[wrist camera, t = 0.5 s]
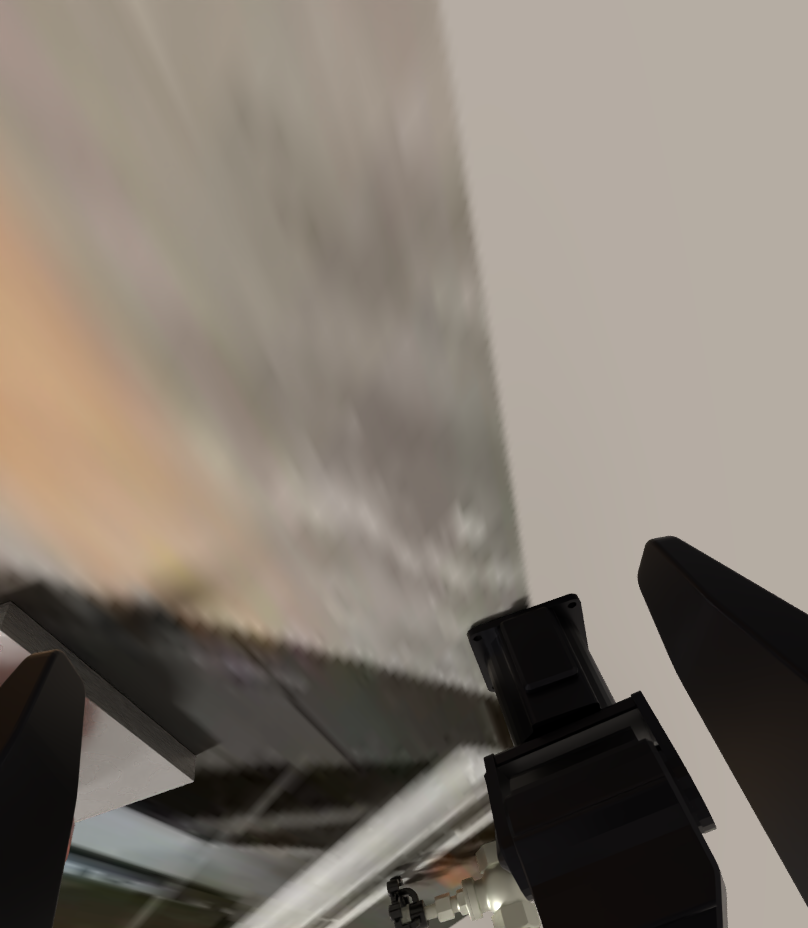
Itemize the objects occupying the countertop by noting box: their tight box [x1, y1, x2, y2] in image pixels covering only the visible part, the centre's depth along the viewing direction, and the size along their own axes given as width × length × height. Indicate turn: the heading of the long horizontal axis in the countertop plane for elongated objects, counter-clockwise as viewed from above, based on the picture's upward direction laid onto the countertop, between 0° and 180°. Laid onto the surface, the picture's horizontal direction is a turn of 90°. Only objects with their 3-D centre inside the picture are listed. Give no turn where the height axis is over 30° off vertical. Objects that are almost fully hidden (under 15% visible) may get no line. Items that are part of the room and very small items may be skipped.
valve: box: [387, 841, 541, 928], centre depth 52 cm, size 7×7×12 cm
